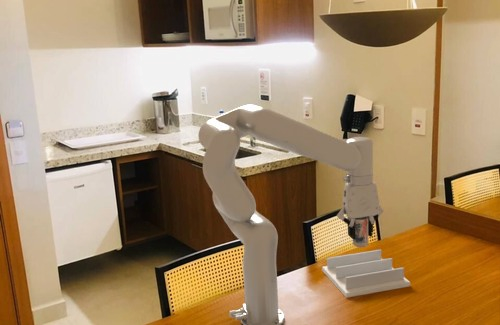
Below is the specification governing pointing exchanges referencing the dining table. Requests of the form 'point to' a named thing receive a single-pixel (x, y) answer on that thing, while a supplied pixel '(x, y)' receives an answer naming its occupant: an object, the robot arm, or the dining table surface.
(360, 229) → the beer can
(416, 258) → the dining table surface
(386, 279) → the drying rack
